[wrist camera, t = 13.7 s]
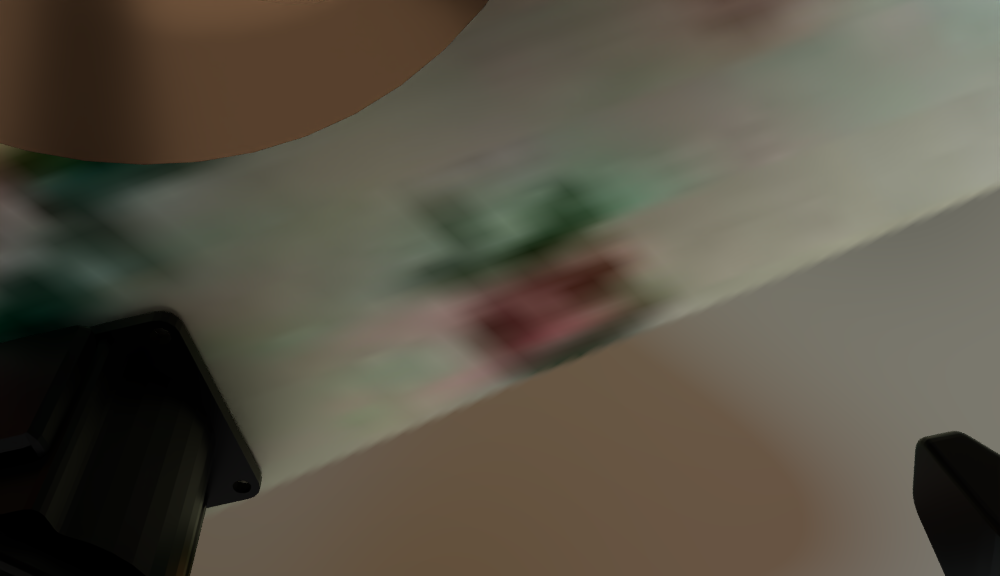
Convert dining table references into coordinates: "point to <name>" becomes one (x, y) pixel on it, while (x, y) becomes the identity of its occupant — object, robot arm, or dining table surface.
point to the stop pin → (204, 71)
